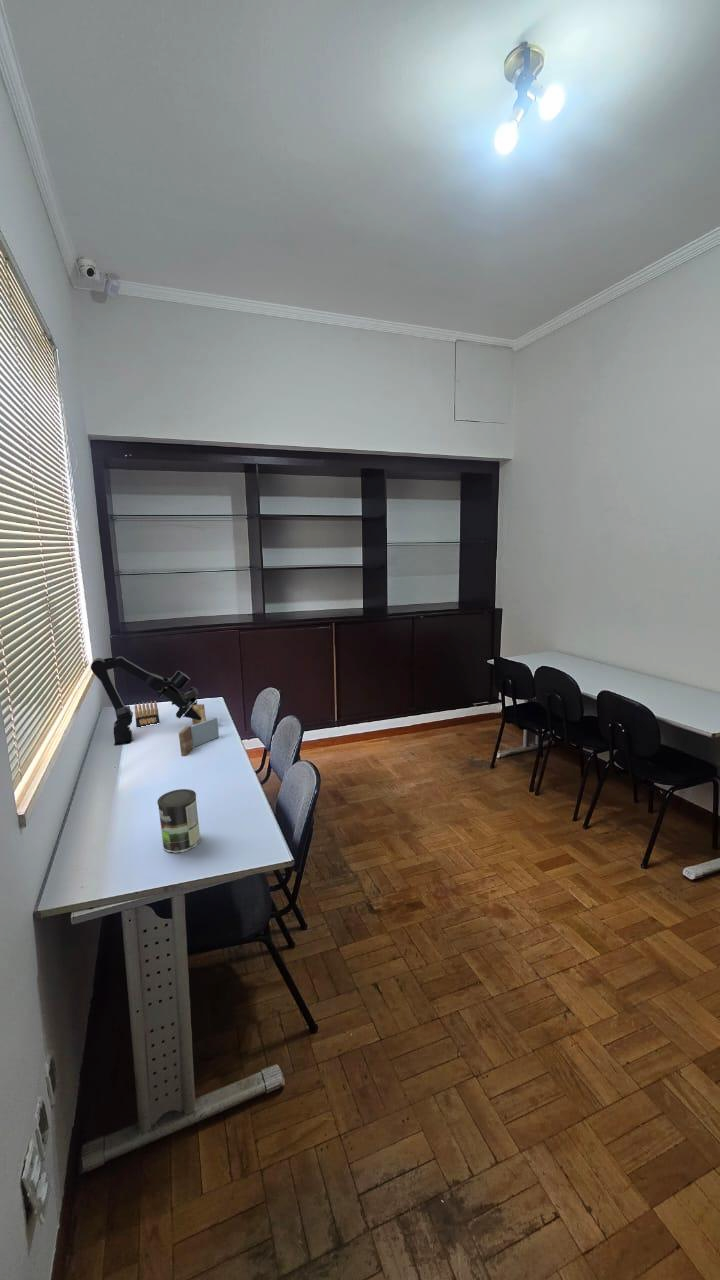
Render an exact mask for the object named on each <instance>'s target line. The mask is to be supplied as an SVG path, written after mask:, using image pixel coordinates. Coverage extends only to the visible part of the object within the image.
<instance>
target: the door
mask: <svg viewBox="0 0 720 1280" xmlns="http://www.w3.org/2000/svg"><path fill="white" fill-rule="evenodd" d="M190 726H191V732H192V741H193V748H194V747H197V746H200V745H203V744H205V743H208V742H211V741H213V740H216V739H218V738H220V735H219V733H220V732H219V724H218V717H213V718H210V719H206V721H204V722H201V723H198V724H195V725H193V724H192V725H190Z"/></svg>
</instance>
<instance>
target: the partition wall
mask: <svg viewBox="0 0 720 1280" xmlns="http://www.w3.org/2000/svg"><path fill="white" fill-rule="evenodd" d="M191 726H192V725H186V726H184V728H182V729H181V730H180V731H179V732H178V737H179V738H178V739H179V746H180V754H181V755H180V756H181V757H186V756H187V755H189V754H190V752H192V751H193V750H194V747H193V741H192V732H191Z"/></svg>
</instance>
